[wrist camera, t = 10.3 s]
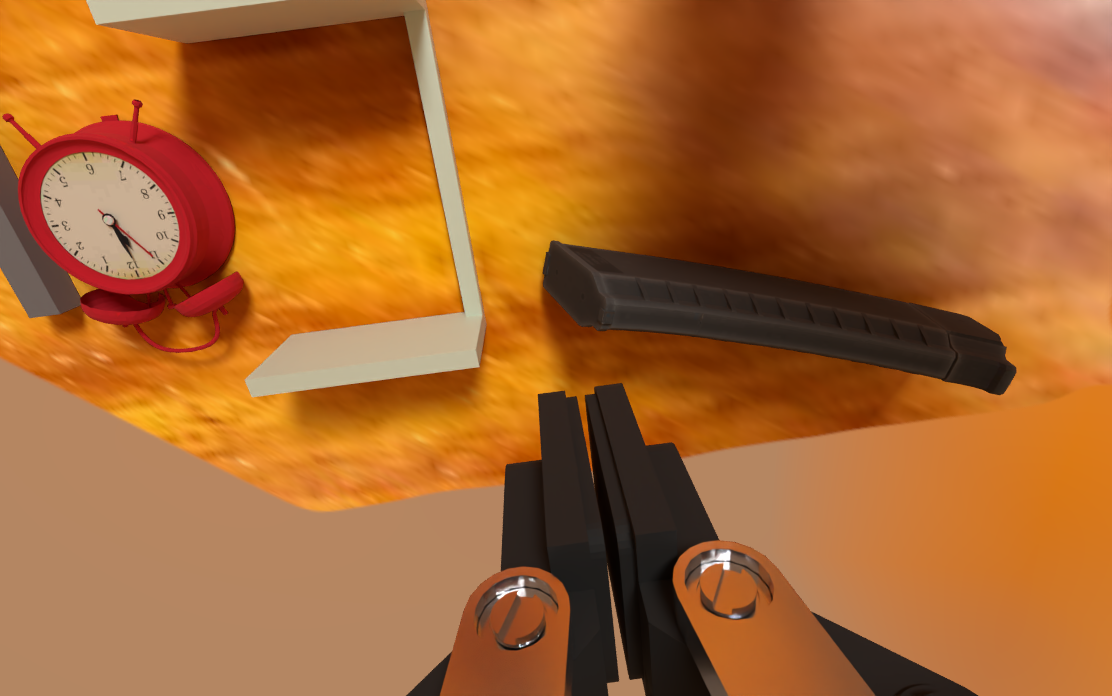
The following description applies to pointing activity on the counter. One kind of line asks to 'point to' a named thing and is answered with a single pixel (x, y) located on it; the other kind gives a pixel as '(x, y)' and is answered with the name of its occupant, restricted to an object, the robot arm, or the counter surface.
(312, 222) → the counter surface
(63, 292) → the rail
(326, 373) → the shelf bay
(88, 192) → the alarm clock
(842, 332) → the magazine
